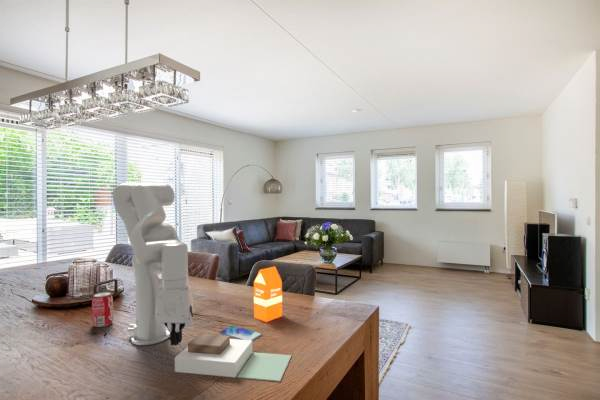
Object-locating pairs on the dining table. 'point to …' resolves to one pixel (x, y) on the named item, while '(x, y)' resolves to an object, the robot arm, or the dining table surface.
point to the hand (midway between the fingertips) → (176, 343)
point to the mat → (265, 367)
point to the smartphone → (240, 333)
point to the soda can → (102, 309)
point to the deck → (216, 360)
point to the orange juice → (268, 295)
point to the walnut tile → (209, 344)
